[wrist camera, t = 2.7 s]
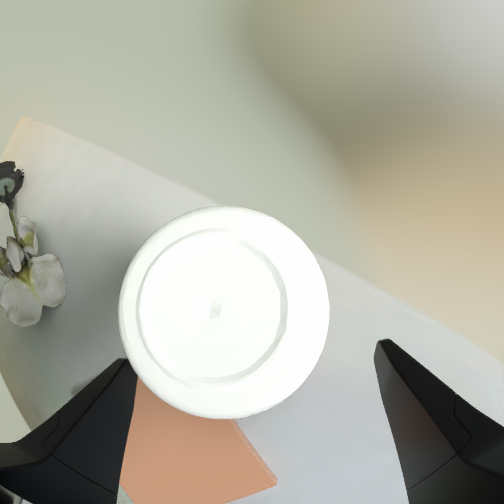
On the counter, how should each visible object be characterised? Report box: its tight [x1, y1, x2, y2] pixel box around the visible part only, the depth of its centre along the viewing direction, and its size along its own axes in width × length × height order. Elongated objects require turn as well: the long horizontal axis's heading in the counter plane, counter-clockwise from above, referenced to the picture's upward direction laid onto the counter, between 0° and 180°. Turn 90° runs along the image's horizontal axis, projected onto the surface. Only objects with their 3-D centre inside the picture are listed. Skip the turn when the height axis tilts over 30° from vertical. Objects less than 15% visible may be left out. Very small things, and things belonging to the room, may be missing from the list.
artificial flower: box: [0, 161, 67, 327], centre depth 20 cm, size 9×22×10 cm, turn 39°
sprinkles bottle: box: [118, 206, 329, 419], centre depth 11 cm, size 5×4×13 cm
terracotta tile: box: [119, 376, 277, 504], centre depth 15 cm, size 12×12×1 cm
